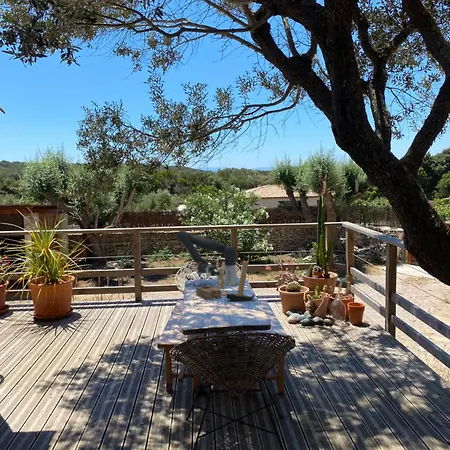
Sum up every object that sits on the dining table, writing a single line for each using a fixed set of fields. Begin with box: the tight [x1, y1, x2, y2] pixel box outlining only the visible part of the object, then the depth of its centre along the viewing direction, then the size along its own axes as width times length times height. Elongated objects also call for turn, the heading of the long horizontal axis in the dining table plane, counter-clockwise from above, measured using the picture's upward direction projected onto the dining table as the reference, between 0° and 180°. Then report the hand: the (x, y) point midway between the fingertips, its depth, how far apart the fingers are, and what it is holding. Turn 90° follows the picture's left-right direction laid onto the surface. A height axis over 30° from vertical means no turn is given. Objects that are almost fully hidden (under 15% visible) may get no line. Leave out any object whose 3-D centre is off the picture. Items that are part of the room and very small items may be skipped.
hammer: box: [225, 260, 255, 302], centre depth 312 cm, size 20×5×30 cm, turn 91°
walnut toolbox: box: [195, 285, 222, 301], centre depth 327 cm, size 12×18×6 cm, turn 29°
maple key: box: [216, 267, 225, 290], centre depth 334 cm, size 4×4×16 cm
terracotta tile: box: [220, 289, 230, 297], centre depth 335 cm, size 8×12×1 cm, turn 29°
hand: (222, 273), depth 331 cm, fingers closed on maple key, 4 cm apart
